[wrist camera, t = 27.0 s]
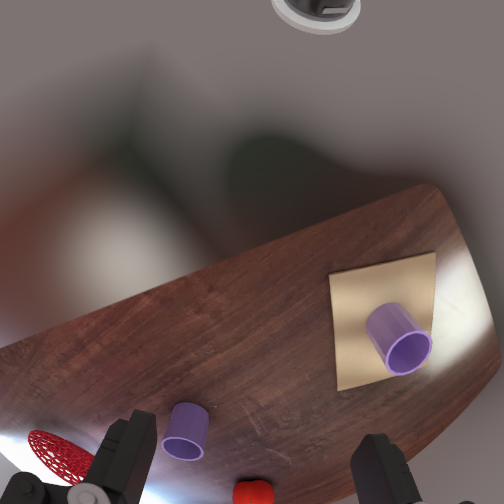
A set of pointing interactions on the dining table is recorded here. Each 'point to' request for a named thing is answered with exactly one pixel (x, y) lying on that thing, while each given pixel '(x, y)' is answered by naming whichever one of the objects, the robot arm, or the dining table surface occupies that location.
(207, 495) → the dining table surface
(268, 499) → the tomato
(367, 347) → the mat
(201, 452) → the lilac cup
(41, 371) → the dining table surface
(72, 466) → the bowl
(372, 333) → the lavender cup
